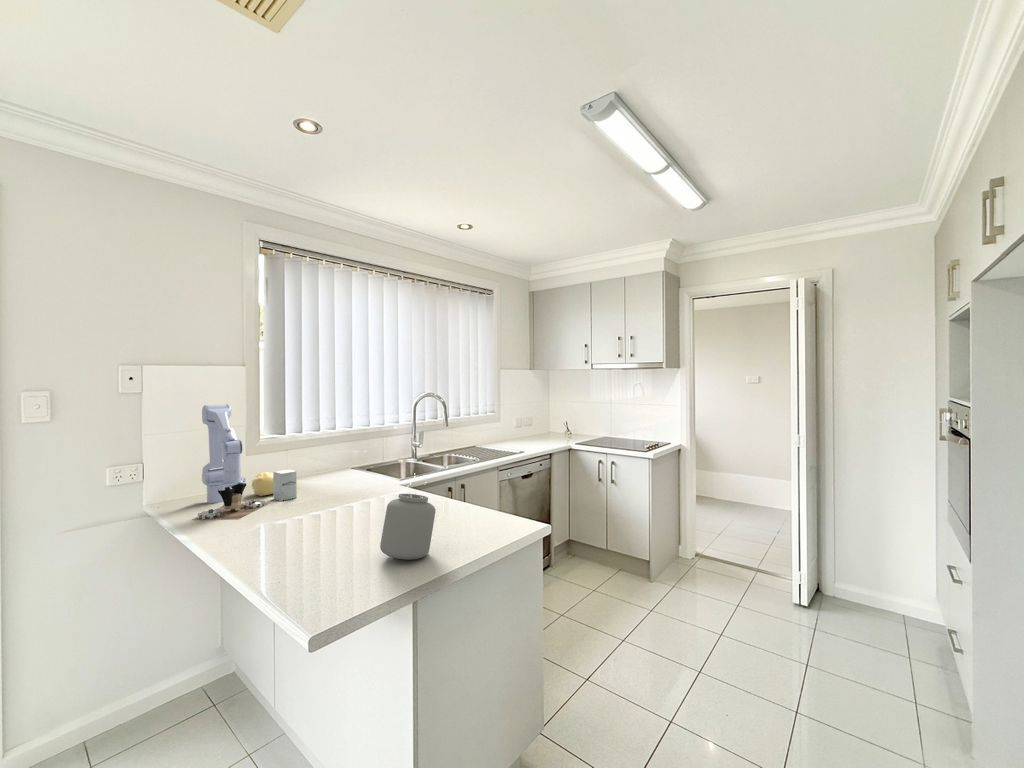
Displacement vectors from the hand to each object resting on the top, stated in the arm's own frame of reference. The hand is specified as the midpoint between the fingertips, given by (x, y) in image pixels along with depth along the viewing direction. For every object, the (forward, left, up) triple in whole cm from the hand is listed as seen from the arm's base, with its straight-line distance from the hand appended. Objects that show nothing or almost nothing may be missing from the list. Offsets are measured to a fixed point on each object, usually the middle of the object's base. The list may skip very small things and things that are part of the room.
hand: (232, 503), depth 179 cm
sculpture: (-32, -4, -5) cm, 33 cm away
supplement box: (-24, +9, -5) cm, 26 cm away
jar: (+44, +82, -5) cm, 93 cm away
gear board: (0, 0, -4) cm, 4 cm away
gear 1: (+7, -4, -3) cm, 8 cm away
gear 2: (-6, +5, -3) cm, 8 cm away
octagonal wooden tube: (0, 0, -1) cm, 1 cm away
